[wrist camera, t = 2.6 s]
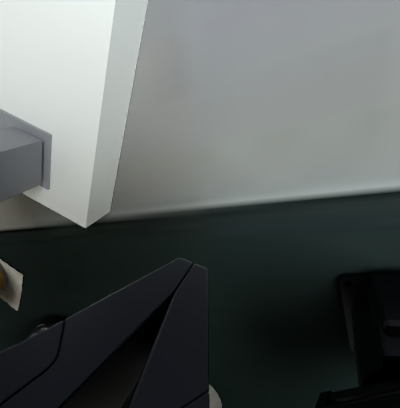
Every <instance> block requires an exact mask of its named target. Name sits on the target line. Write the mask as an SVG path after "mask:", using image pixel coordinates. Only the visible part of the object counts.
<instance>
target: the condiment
mask: <svg viewBox="0 0 400 408" xmlns="http://www.w3.org/2000/svg"><path fill="white" fill-rule="evenodd" d="M7 273H8V274H7ZM9 276H10V277H11V278H10V277H9ZM22 280H23V275H22V274H21V273H19V272H17V271H16V270H15V269H14V268H12V267H10V266H9V265H8V264H7V263H5V262H3V261H2V260H1V259H0V298H2V299H3V300H4V301H6V302H7V303H8V304H9V305H10V306H11V307H12V308H14V309H16V310H17V311H18V307H19V303H20V298H21V291H22V283H23V281H22Z"/></svg>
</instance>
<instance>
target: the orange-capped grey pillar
mask: <svg viewBox="0 0 400 408" xmlns="http://www.w3.org/2000/svg"><path fill="white" fill-rule="evenodd" d="M41 177H42V140H40V139H38V138H36V137H34V136H32V135H30V134H28V133H26V132H25V131H23V130H21V129H19V128H17V127H15V126H14V127H9V128H4V129H0V202H1V201H4V200H6V199H8V198H11V197H13V196H15V195H18V194H20V193H23V192H25V191H27V190H30V189H32V188H34V187H37V186H39V185H41Z"/></svg>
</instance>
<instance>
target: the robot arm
mask: <svg viewBox="0 0 400 408" xmlns="http://www.w3.org/2000/svg"><path fill="white" fill-rule="evenodd" d="M346 281H350V282H351V283H349V284H347V283H345V282H346ZM339 282H340V290H341V296H342V302H343V308H344V314H345V321H346V327H347V333H348V339H349V346H350V349H351V350H352V351H353V352H354V353H355V355H356V364H357V373H358V383H359V387H356V388H351V389H346V390H342V391H337V392H331V391H327V392H322V393H320V396H319V399H318V401H317V404H316V407H315V408H400V273H376V274H345V275H342V276H341V277H340V280H339ZM138 379H139V380H138ZM137 381H138V382H137ZM136 383H137V385H136V387H135V389H134V392H133V394H132V397H131V399H130V402H129V404H128V407H127V408H210V395H209V393H208V392H209V315H208V269H207V268H205V267H203V266H200V265H198V264H194V265H193V263H192V262H191V261H188V260H186V259H183V258H177V259H176V260H174V261H172V262H170V263H168V264H166V265H164V266H163V267H161V268H159V269H157V270H155V271H153V272H151V273H150V274H148V275H146V276H144V277H142V278H140V279H139V280H137V281H135V282H133V283H131V284H129V285H127V286H126V287H124V288H122V289H120V290H118V291H116V292H114V293H113V294H111V295H109V296H107V297H105V298H103V299H101V300H100V301H98V302H96V303H94V304H92V305H90V306H89V307H87V308H85V309H83V310H81V311H79V312H77V313H76V314H74V315H72V316H70V317H68V318H66V319H65V322H64V321H60V322H59V323H57V324H55V325H53V326H51V327H49V328H48V329H46V330H44V331H42V332H40V333H38V334H36V335H34V336H32V337H30V338H28V339H26V340H24V341H22V342H20V343H18V344H16V345H14V346H12V347H9V348H7V349H5V350H3V351H1V352H0V408H121V407H122V405H123V404H124V402H125V400H126V399H127V397H128V395H129V394H130V392H131V391H132V389H133V387H134V386H135V384H136Z"/></svg>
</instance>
